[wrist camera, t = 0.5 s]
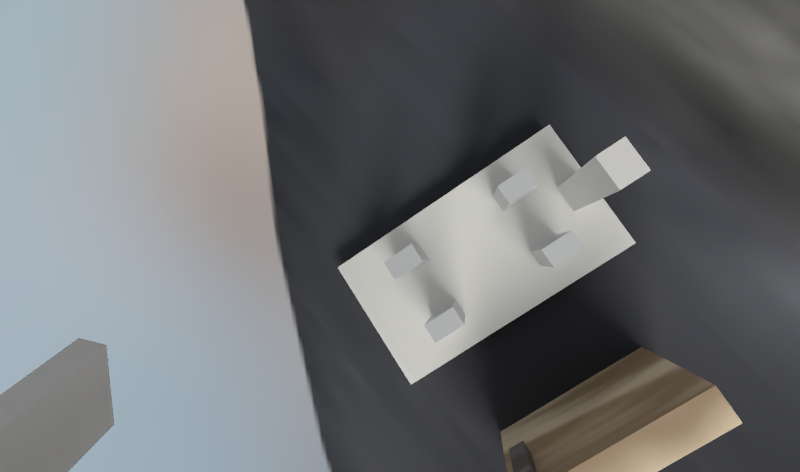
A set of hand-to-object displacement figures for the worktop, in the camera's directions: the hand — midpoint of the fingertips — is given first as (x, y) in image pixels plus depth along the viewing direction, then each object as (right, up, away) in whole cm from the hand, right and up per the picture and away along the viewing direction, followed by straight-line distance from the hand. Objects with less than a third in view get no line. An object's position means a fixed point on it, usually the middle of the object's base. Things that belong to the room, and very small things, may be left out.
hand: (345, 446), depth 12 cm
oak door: (+17, -9, +28) cm, 33 cm away
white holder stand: (+8, +4, +29) cm, 31 cm away
